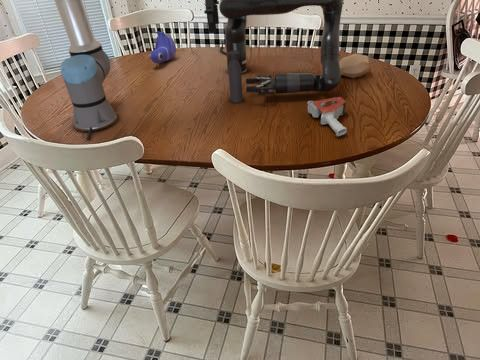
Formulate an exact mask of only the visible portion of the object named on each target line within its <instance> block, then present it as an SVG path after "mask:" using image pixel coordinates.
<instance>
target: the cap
mask: <svg viewBox="0 0 480 360" xmlns="http://www.w3.org/2000/svg"><path fill="white" fill-rule="evenodd" d="M239 58H240V53H239V51H230V52H228V59H229V60H237V59H239Z"/></svg>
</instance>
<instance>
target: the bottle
mask: <svg viewBox="0 0 480 360" xmlns="http://www.w3.org/2000/svg"><path fill="white" fill-rule="evenodd" d="M228 72H229V73H228ZM227 73H228V82H229V83H228V84H229V96H230V97H229V98H230V99H229V100H230V102H231V103H233V104H234V103H235V104H236V103H242V102H243V100H244V99H243V97H244V96H243V80H242V79H243V78H242V73H241V67H240V64H239V61H238V59H237V60H230V64H229V71H227Z"/></svg>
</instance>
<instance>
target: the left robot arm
mask: <svg viewBox="0 0 480 360" xmlns="http://www.w3.org/2000/svg"><path fill="white" fill-rule="evenodd" d="M54 3H55V6H56V8H57V11H58V13H59V16H60V20H61V21H62V24H63V27H64V29H65V33H66V35H67V38H68V40H69V43H70V46H69V48H68V53H69V55H70V57H67V58H65V59H63V61H62V62H61V63H60V65H59V69H60V74H61V77H62V79H63V82H64V84H65V87H66V90H67V93H68V96H69V99H70V101H71V104H72V108H73V114H72V117H73V118H72V119H73V125H74V128H75V129H76V131H78V132H84V133H87V136H86V140H90V138H91V134H92V132H99V131H102V130H105V129H107V128H110V127H111V126H113V125H115V124H116V122H117V121H118V116H117V113H116V111H115V110H114V108H113V107H112V105H111V103H110V102H109V101H108V99H107V96H106V92H105V90H104V87H103V86H104V85H103V83H104V82H105V80H106V78H107V77H108V75H109V73H110V70H111V61H110V58H109V55H108V54H107V53H106V52H105V51H104V49H103V47H102V42H100V41H98V40H96V38H95V34H94V32H93V29H92V26H91V23H90V20H89V17H88V14H87V11H86V8H85V4H84V2H83V0H54ZM204 5H205V9H204V12H203V14H204V15H206V20H207V21H206V22H207V29H208V34H217V33H218V32H217V25H219V24H220V18H219V6H218V5H220V1H219V0H204Z"/></svg>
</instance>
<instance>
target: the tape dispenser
mask: <svg viewBox="0 0 480 360" xmlns="http://www.w3.org/2000/svg"><path fill="white" fill-rule="evenodd" d="M329 102H331V105H328V106H326V103H329ZM346 105H347V103H346V100H345V99H344V98H343V97H342V96H333V97H331V98H329V97H328V98H325V99H320V100H315V101H314V100H308V101H307V113H308V114H311V116H312V118H319V117H320V125H329V127H330V128H331V129H332V130H333V132H334V133H335V136H336V137H340V136H344V135H345V134H346V133H347V131H348V128H347V127H345V126H344V125H343V124H342V123H340V121H338V119H339V117H340V116H343V115H344V113H345V110H346Z"/></svg>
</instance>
